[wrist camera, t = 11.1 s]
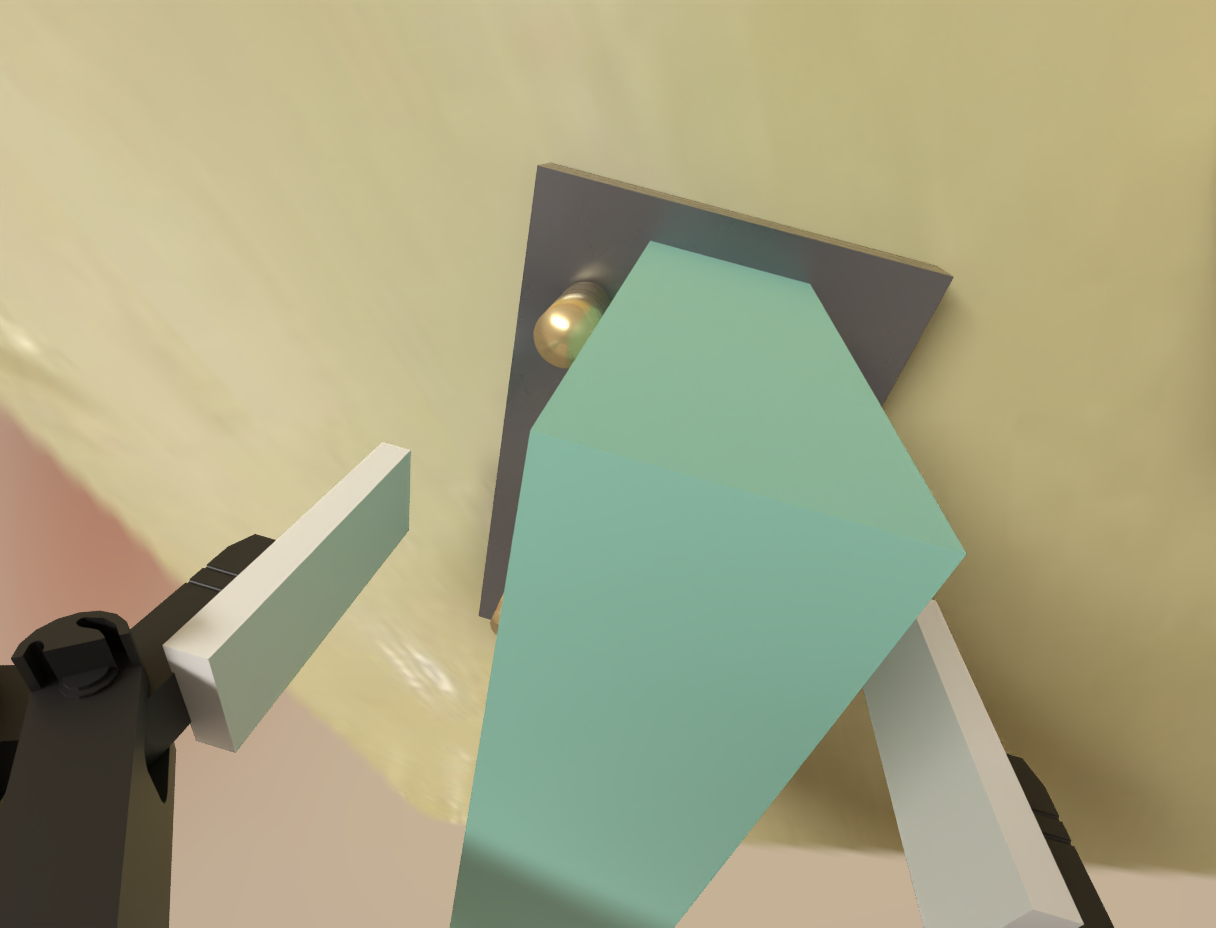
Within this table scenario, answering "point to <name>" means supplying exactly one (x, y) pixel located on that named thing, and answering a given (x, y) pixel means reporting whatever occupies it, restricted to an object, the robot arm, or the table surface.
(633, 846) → the board
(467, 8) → the table surface
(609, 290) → the plate
